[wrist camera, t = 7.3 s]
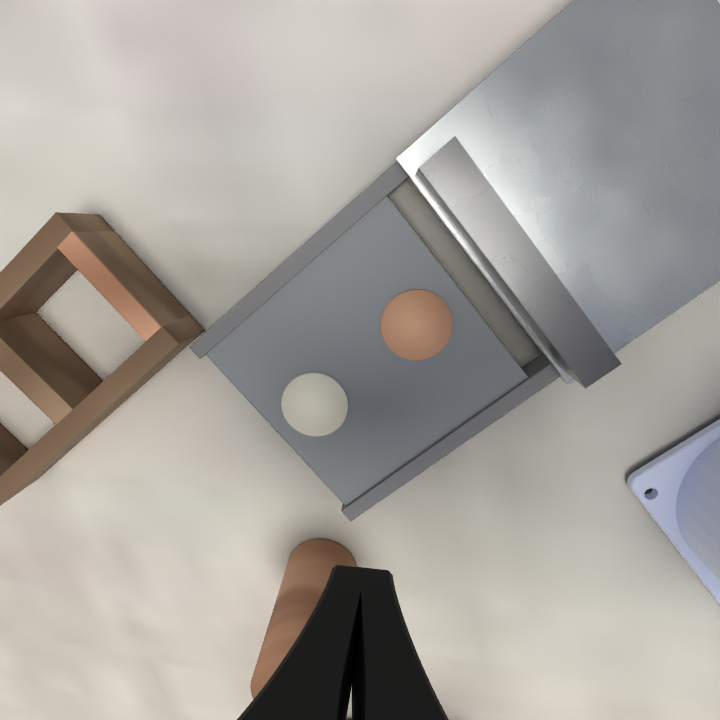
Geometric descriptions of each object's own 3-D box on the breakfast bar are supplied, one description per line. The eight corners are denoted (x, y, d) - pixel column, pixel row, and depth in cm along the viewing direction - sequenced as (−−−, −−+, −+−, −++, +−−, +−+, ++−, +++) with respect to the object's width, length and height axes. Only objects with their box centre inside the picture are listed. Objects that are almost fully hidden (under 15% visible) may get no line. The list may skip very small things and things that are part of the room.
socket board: (204, 330, 19) (177, 344, 16) (37, 479, 21) (-8, 511, 19) (99, 214, 18) (53, 212, 15) (-64, 384, 20) (-125, 405, 18)
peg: (371, 574, 22) (363, 700, 16) (319, 608, 22) (293, 740, 16) (325, 526, 21) (300, 638, 15) (274, 562, 22) (231, 683, 16)
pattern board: (863, 146, 16) (901, 139, 14) (352, 504, 21) (350, 521, 19) (716, -119, 14) (745, -150, 13) (201, 339, 19) (188, 347, 18)
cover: (817, 202, 15) (920, 196, 12) (562, 379, 17) (597, 409, 14) (656, -71, 13) (729, -155, 10) (396, 161, 15) (397, 145, 12)
